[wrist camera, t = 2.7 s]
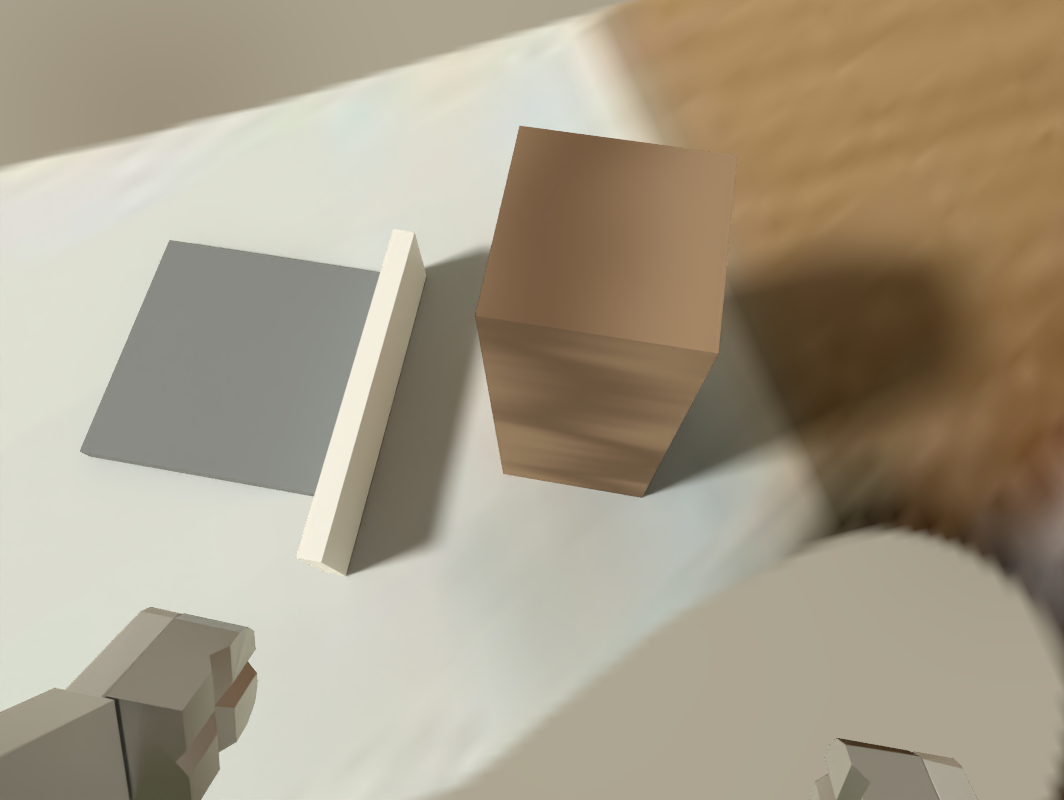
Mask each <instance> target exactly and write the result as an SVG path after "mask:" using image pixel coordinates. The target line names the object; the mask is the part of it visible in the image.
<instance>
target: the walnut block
mask: <svg viewBox="0 0 1064 800" xmlns="http://www.w3.org/2000/svg"><path fill="white" fill-rule="evenodd" d="M737 157H738V155H732V154H725V153H717V152H710V151H702V150H695V149H688V148H680V147H673V146H665V145H658V144H651V143H643V142H636V141H628V140H621V139H614V138H606V137H599V136H591V135H584V134H577V133H569V132H562V131H554V130H547V129H540V128H532V127H525V126H520V127H519V131H518V135H517V139H516V144H515V148H514V152H513V156H512V161H511V165H510V169H509V173H508V178H507V182H506V186H505V190H504V195H503V199H502V203H501V207H500V212H499V216H498V220H497V224H496V229H495V233H494V237H493V241H492V246H491V250H490V254H489V258H488V263H487V267H486V271H485V275H484V280H483V284H482V288H481V292H480V297H479V301H478V305H477V309H476V314H475V318H476V324H477V329H478V335H479V341H480V346H481V352H482V357H483V363H484V368H485V374H486V380H487V385H488V391H489V396H490V402H491V408H492V413H493V419H494V424H495V430H496V435H497V441H498V447H499V452H500V458H501V463H502V469H503V474H508V475H514V476H520V477H525V478H531V479H537V480H543V481H549V482H554V483H560V484H566V485H572V486H578V487H583V488H589V489H595V490H601V491H607V492H612V493H618V494H624V495H630V496H636V497H641V498H642V496H643V494H644V493H645V491H646V489H647V487H648V485H649V483H650V481H651V479H652V478H653V476H654V474H655V472H656V470H657V468H658V466H659V464H660V463H661V461H662V459H663V457H664V455H665V453H666V451H667V449H668V447H669V446H670V444H671V442H672V440H673V438H674V436H675V434H676V432H677V431H678V429H679V427H680V425H681V423H682V421H683V419H684V417H685V416H686V414H687V412H688V410H689V408H690V406H691V404H692V402H693V401H694V399H695V397H696V395H697V393H698V391H699V389H700V387H701V385H702V384H703V382H704V380H705V378H706V376H707V374H708V372H709V370H710V369H711V367H712V365H713V363H714V361H715V359H716V357H717V355H718V354H719V343H720V333H721V323H722V312H723V302H724V292H725V281H726V271H727V261H728V250H729V240H730V230H731V219H732V209H733V198H734V188H735V178H736V167H737Z"/></svg>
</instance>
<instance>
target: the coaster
mask: <svg viewBox="0 0 1064 800" xmlns="http://www.w3.org/2000/svg"><path fill="white" fill-rule="evenodd" d="M379 275H380V272H375V271H368V270H362V269H355V268H349V267H342V266H336V265H329V264H322V263H316V262H309V261H303V260H296V259H290V258H283V257H277V256H270V255H264V254H257V253H250V252H244V251H237V250H231V249H224V248H218V247H211V246H205V245H198V244H192V243H185V242H178V241H172V240H169V243H168V245H167V247H166V250H165V252H164V254H163V257H162V259H161V261H160V264H159V266H158V268H157V271H156V273H155V276H154V278H153V280H152V283H151V285H150V287H149V290H148V292H147V294H146V297H145V299H144V301H143V304H142V306H141V308H140V311H139V313H138V315H137V318H136V320H135V323H134V325H133V327H132V330H131V332H130V334H129V337H128V339H127V341H126V344H125V346H124V348H123V351H122V353H121V355H120V358H119V360H118V363H117V365H116V367H115V370H114V372H113V374H112V377H111V379H110V381H109V384H108V386H107V388H106V391H105V393H104V395H103V398H102V400H101V402H100V405H99V407H98V410H97V412H96V414H95V417H94V419H93V421H92V424H91V426H90V428H89V431H88V433H87V435H86V438H85V440H84V442H83V445H82V447H81V450H80V452H82V453H84V454H86V455H88V456H91V457H97V458H102V459H108V460H114V461H119V462H125V463H130V464H136V465H142V466H147V467H153V468H158V469H164V470H170V471H175V472H181V473H186V474H192V475H198V476H203V477H209V478H215V479H220V480H226V481H231V482H237V483H243V484H248V485H254V486H259V487H265V488H271V489H276V490H282V491H287V492H293V493H299V494H304V495H310V496H314V495H315V491H316V488H317V484H318V481H319V478H320V474H321V471H322V468H323V464H324V461H325V457H326V454H327V451H328V447H329V444H330V441H331V437H332V434H333V430H334V427H335V424H336V420H337V417H338V413H339V410H340V407H341V403H342V400H343V397H344V393H345V390H346V386H347V383H348V380H349V376H350V373H351V370H352V366H353V363H354V359H355V356H356V353H357V349H358V346H359V343H360V339H361V336H362V332H363V329H364V326H365V322H366V319H367V316H368V312H369V309H370V305H371V302H372V299H373V295H374V292H375V288H376V285H377V282H378V278H379Z"/></svg>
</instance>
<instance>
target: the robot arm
mask: <svg viewBox="0 0 1064 800" xmlns="http://www.w3.org/2000/svg"><path fill="white" fill-rule="evenodd" d="M255 649H256V648H255V637H254V631H253V630H252V629H250V628H248V627H244V626H240V625H235V624H230V623H226V622H221V621H217V620H212V619H207V618H203V617H198V616H194V615H189V614H181V613H176V612H171V611H167V610H162V609H158V608H153V607H150V608H147V609H145V610H143V611H141V612H139V613H138V614H137V615H136V616H135V617H134V618H133V619H132V620H131V621H130V622H129V623H128V624H127V626H126V627H125V628H124V629H123V630H122V631H121V632H120V633H119V634H118V635H117V636H116V637H115V638H114V639H113V640H112V641H111V642H110V643H109V644H108V645H107V646H106V647H105V648H104V650H103V651H102V652H101V653H100V654H99V655H98V656H97V657H96V658H95V659H94V660H93V661H92V662H91V663H90V664H89V665H88V666H87V667H86V668H85V669H84V670H83V671H82V673H81V674H80V675H79V676H78V677H77V678H76V679H75V680H74V681H73V682H72V683H71V684H70V685H69V686H68V687H67V688H66V689H65V690H64V689H58V688H53V689H51V690H49V691H47V692H44V693H42V694H40V695H38V696H35V697H33V698H31V699H29V700H27V701H24V702H22V703H20V704H18V705H15V706H13V707H11V708H9V709H6V710H4V711H2V712H0V800H201V799H202V797H203V796H204V794H205V792H206V791H207V789H208V787H209V786H210V784H211V783H212V781H213V779H214V778H215V776H216V775H217V773H218V771H219V770H220V766H219V752H220V751H222V750H224V749H225V748H227V747H229V746H230V745H232V744H234V743H235V742H237V740H238V738H239V737H240V735H241V733H242V732H243V730H244V728H245V727H246V725H247V723H248V720H249V717H250V714H251V712H252V709H253V706H254V703H255V698H256V691H257V673H256V671H255V670H254V669H253V668H252V666H251V665H250V664H249V662H248V660H249V658H250V657H251V655H252V654H253V652H254V651H255ZM825 762H826V765H827V769H828V772H829V773H828V774H827V775H825V776H823V777H821V778H820V779H818V780H816V781H815V783H814V786H813V790H812V792H811V795H810V798H809V800H978V799H977V797H976V795H975V793H974V791H973V789H972V787H971V785H970V783H969V781H968V779H967V777H966V775H965V773H964V771H963V769H962V767H961V765H960V764H958V763H957V762H956V761H955V760H954V759H953V758H947V757H942V756H935V755H930V754H924V753H918V752H910V751H907V750H901V749H896V748H890V747H884V746H879V745H874V744H868V743H862V742H857V741H851V740H846V739H840V738H836V739H835V740H834V741H833V742H832V743H831V744H830V745H829V748H828V750H827V753H826V756H825Z"/></svg>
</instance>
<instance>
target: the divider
mask: <svg viewBox="0 0 1064 800" xmlns="http://www.w3.org/2000/svg"><path fill="white" fill-rule="evenodd" d="M426 276H427V275H426V272H425V268H424V265H423V261H422V257H421V254H420V250H419V247H418V243H417V239H416V236H415V232H409V231H403V230H396V229H393V231H392V234H391V238H390V241H389V245H388V248H387V251H386V255H385V258H384V261H383V265H382V268H381V272H380V275H379V278H378V282H377V285H376V288H375V292H374V295H373V299H372V302H371V305H370V309H369V312H368V316H367V319H366V322H365V326H364V329H363V332H362V336H361V339H360V343H359V346H358V349H357V353H356V356H355V359H354V363H353V366H352V370H351V373H350V376H349V380H348V383H347V386H346V390H345V393H344V397H343V400H342V403H341V407H340V410H339V413H338V417H337V420H336V424H335V427H334V430H333V434H332V437H331V441H330V444H329V447H328V451H327V454H326V457H325V461H324V464H323V468H322V471H321V474H320V478H319V481H318V484H317V488H316V491H315V495H314V498H313V501H312V505H311V508H310V511H309V515H308V518H307V522H306V525H305V528H304V532H303V535H302V538H301V542H300V545H299V549H298V552H297V555H296V558H298V559H300V560H302V561H303V562H305V563H307V564H309V565H311V566H313V567H315V568H317V569H319V570H321V571H322V572H326V573H332V574H337V575H342V576H346V574H347V570H348V566H349V563H350V559H351V555H352V552H353V548H354V544H355V540H356V537H357V533H358V529H359V526H360V522H361V518H362V514H363V511H364V507H365V503H366V500H367V496H368V492H369V488H370V485H371V481H372V477H373V473H374V470H375V466H376V462H377V459H378V455H379V451H380V447H381V444H382V440H383V436H384V433H385V429H386V425H387V421H388V418H389V414H390V410H391V406H392V403H393V399H394V395H395V392H396V388H397V384H398V380H399V377H400V373H401V369H402V366H403V362H404V358H405V354H406V351H407V347H408V343H409V340H410V336H411V332H412V328H413V325H414V321H415V317H416V313H417V310H418V306H419V302H420V299H421V295H422V291H423V287H424V284H425V280H426Z"/></svg>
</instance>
